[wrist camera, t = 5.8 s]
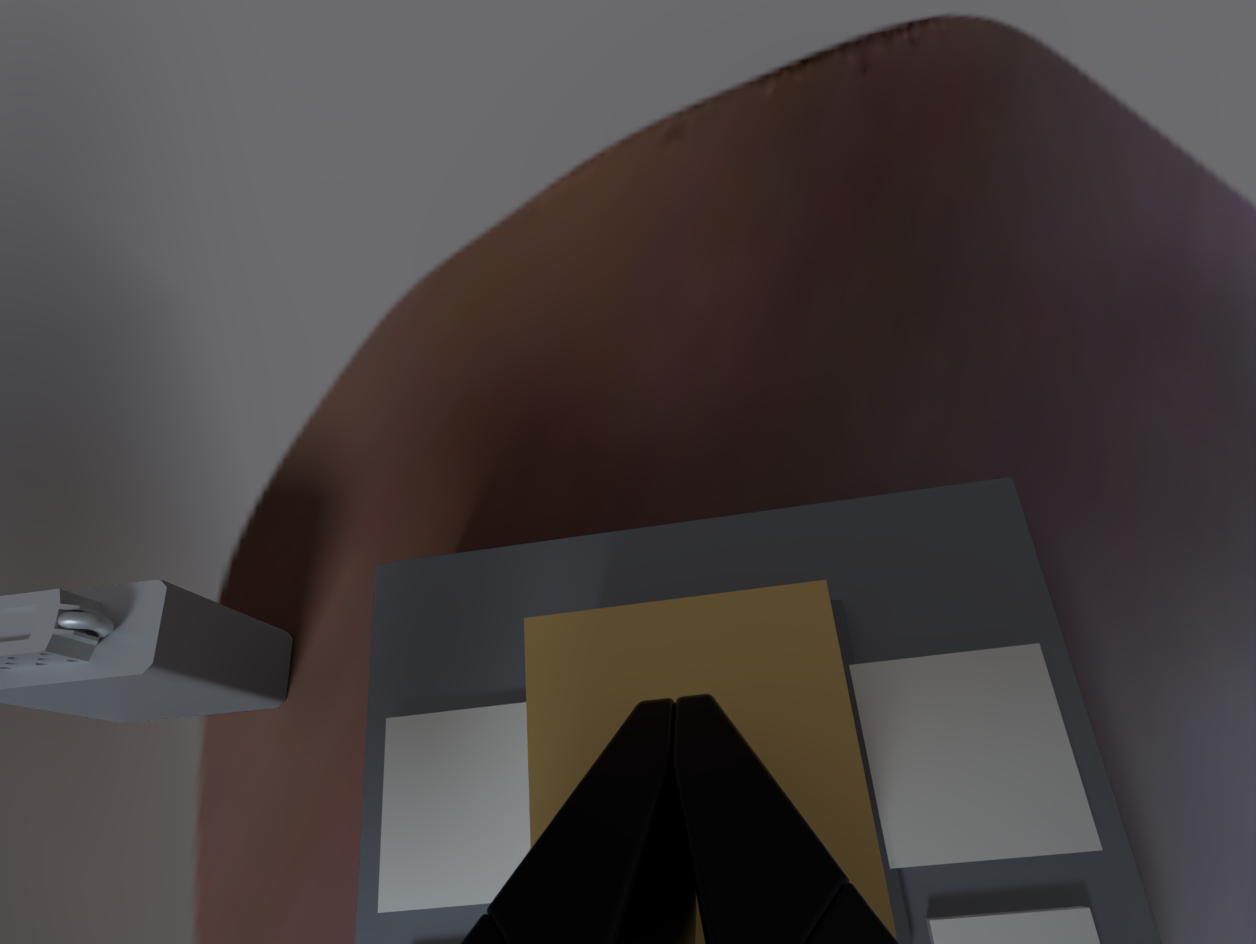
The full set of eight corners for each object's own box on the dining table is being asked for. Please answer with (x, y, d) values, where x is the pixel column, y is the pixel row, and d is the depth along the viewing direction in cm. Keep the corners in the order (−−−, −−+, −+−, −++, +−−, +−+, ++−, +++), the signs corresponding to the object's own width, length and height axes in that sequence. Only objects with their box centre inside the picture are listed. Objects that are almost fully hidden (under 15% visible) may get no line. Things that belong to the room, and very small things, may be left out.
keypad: (1141, 1119, 13) (1257, 1209, 10) (422, 1156, 14) (328, 1245, 11) (973, 533, 17) (1017, 469, 14) (434, 604, 18) (368, 559, 15)
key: (868, 914, 11) (897, 939, 8) (585, 936, 11) (533, 966, 9) (814, 629, 13) (826, 579, 10) (571, 658, 13) (523, 617, 11)
